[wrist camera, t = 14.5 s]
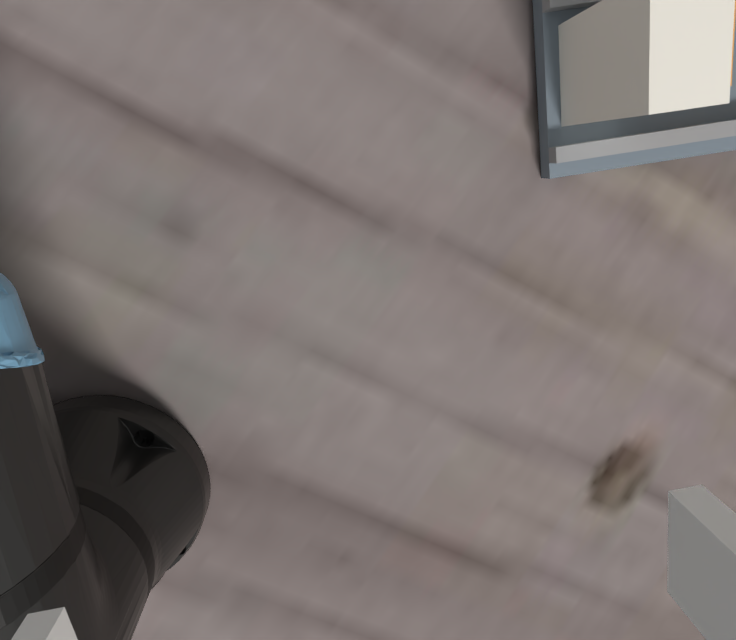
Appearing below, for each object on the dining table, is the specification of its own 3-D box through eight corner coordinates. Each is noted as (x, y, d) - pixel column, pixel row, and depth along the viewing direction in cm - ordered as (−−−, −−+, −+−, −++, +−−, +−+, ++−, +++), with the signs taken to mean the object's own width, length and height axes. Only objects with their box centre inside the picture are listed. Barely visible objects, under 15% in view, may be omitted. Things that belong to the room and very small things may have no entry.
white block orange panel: (558, 25, 34) (650, -28, 24) (633, 14, 34) (754, -42, 24) (561, 126, 36) (648, 114, 26) (632, 116, 36) (745, 100, 26)
